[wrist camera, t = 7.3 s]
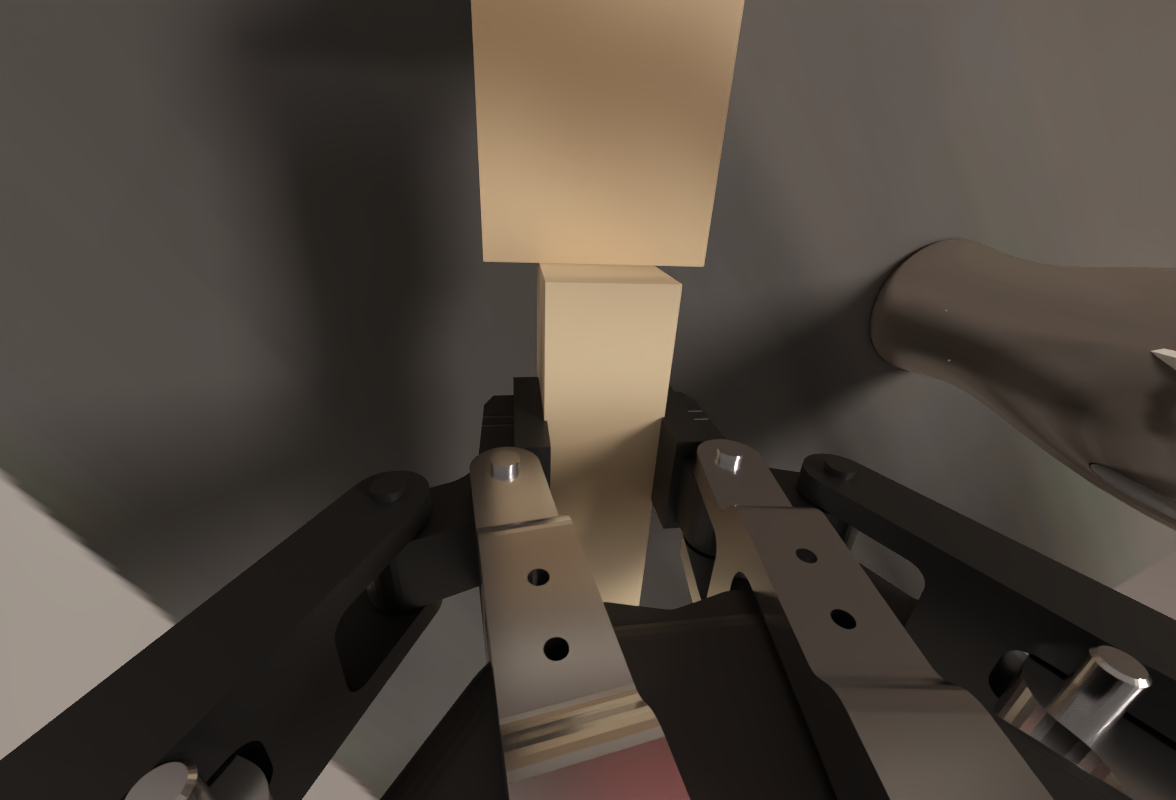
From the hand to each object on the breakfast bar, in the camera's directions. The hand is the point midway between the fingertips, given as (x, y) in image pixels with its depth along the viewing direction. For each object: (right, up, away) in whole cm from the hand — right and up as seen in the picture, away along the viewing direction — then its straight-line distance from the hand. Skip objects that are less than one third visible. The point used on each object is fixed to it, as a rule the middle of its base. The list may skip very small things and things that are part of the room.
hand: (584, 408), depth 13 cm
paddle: (0, +2, 0) cm, 2 cm away
